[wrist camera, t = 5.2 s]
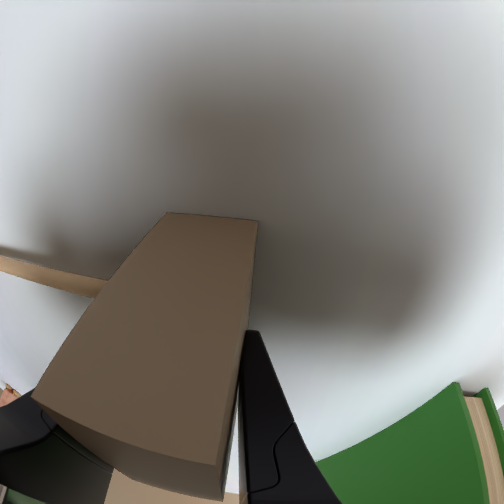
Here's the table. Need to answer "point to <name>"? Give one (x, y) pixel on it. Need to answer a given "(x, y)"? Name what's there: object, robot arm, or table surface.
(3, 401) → the grandmother figurine
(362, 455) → the hardback book
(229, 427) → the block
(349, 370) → the table surface
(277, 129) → the table surface
